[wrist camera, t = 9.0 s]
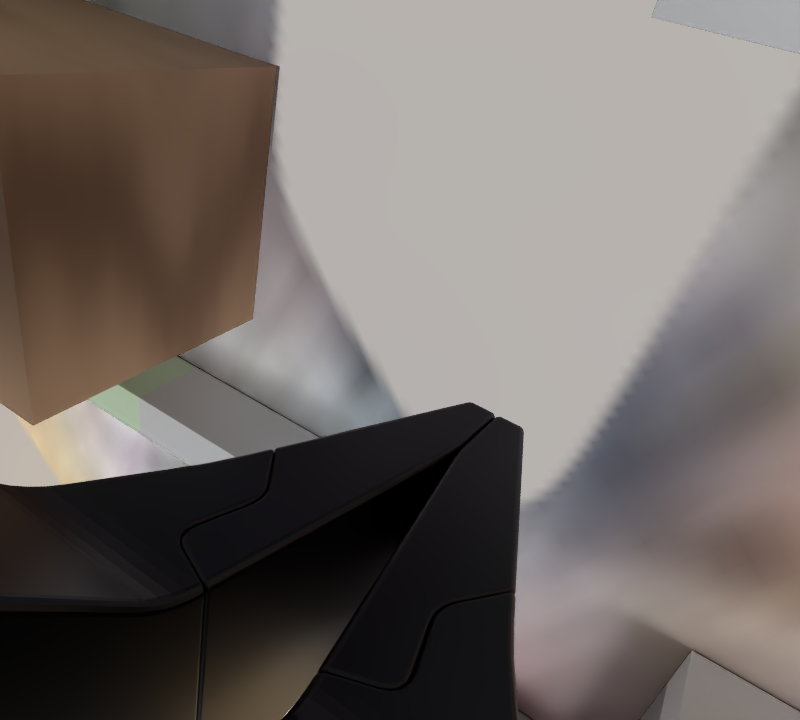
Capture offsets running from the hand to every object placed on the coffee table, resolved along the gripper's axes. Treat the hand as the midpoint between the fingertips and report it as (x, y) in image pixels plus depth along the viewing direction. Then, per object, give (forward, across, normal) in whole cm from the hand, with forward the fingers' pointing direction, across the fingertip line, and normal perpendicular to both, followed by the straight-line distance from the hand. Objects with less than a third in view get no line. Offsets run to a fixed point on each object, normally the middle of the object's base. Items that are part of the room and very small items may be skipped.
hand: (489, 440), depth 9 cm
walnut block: (+4, +11, 0) cm, 12 cm away
